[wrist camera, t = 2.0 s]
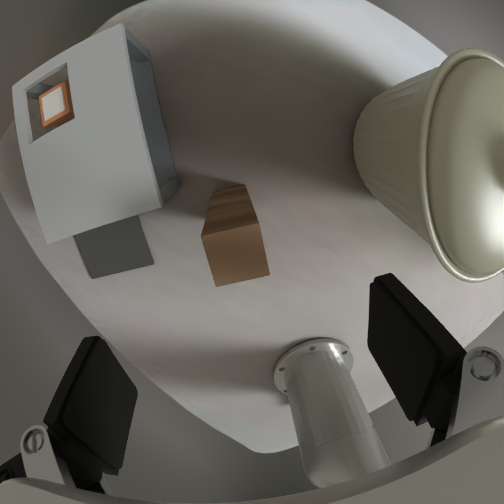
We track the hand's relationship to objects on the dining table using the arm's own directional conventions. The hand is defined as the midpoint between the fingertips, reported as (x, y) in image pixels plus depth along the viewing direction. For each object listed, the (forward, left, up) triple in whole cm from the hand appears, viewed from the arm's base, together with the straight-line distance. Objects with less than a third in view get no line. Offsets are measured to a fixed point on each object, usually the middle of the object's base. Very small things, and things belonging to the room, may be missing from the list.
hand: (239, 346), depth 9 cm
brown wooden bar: (0, 0, -22) cm, 22 cm away
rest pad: (0, +15, -22) cm, 27 cm away
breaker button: (+15, +13, -19) cm, 27 cm away
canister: (+3, -20, -23) cm, 30 cm away
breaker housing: (+11, +11, -22) cm, 27 cm away
